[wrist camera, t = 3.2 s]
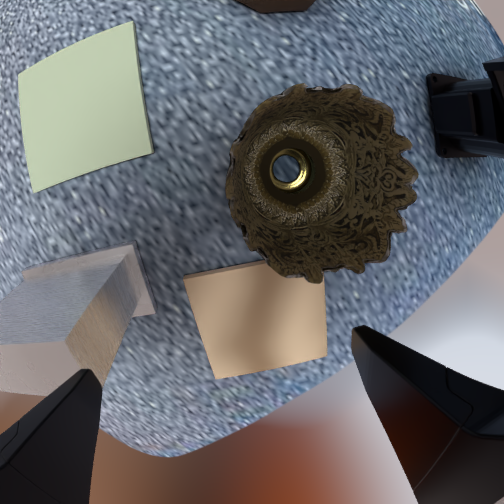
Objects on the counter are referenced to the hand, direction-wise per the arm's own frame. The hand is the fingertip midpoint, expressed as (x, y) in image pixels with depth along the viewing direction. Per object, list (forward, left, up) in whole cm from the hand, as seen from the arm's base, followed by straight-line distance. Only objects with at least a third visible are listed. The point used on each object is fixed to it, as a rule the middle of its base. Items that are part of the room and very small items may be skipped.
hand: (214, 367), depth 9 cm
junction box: (+10, +1, -10) cm, 14 cm away
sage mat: (+7, -11, -10) cm, 17 cm away
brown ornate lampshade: (-5, -4, -11) cm, 13 cm away
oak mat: (-2, +6, -10) cm, 12 cm away
